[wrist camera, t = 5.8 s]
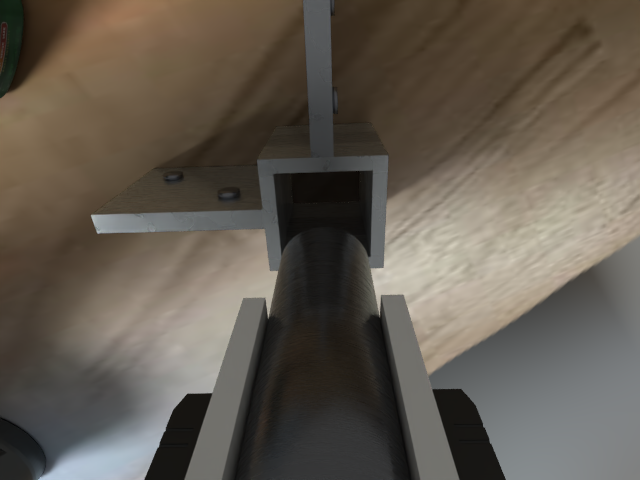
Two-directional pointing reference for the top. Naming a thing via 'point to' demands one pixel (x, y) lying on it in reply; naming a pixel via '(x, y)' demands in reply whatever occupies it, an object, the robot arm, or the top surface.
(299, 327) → the pin
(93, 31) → the top surface
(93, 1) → the top surface
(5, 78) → the coffee jar
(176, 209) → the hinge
